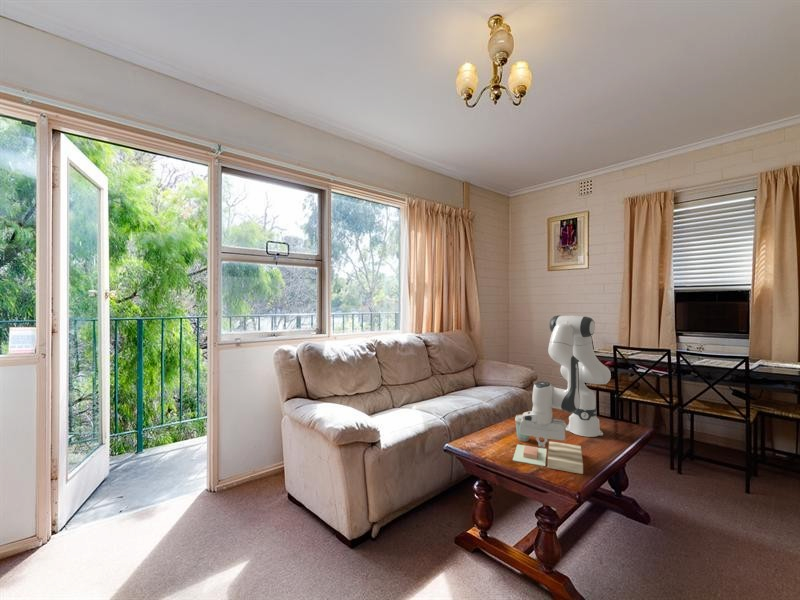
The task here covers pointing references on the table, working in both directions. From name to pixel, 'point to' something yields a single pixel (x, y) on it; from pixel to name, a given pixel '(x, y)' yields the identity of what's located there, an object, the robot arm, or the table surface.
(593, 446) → the table surface
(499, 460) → the table surface
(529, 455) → the pink rectangular block
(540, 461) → the mat
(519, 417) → the coffee cup
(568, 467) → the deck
